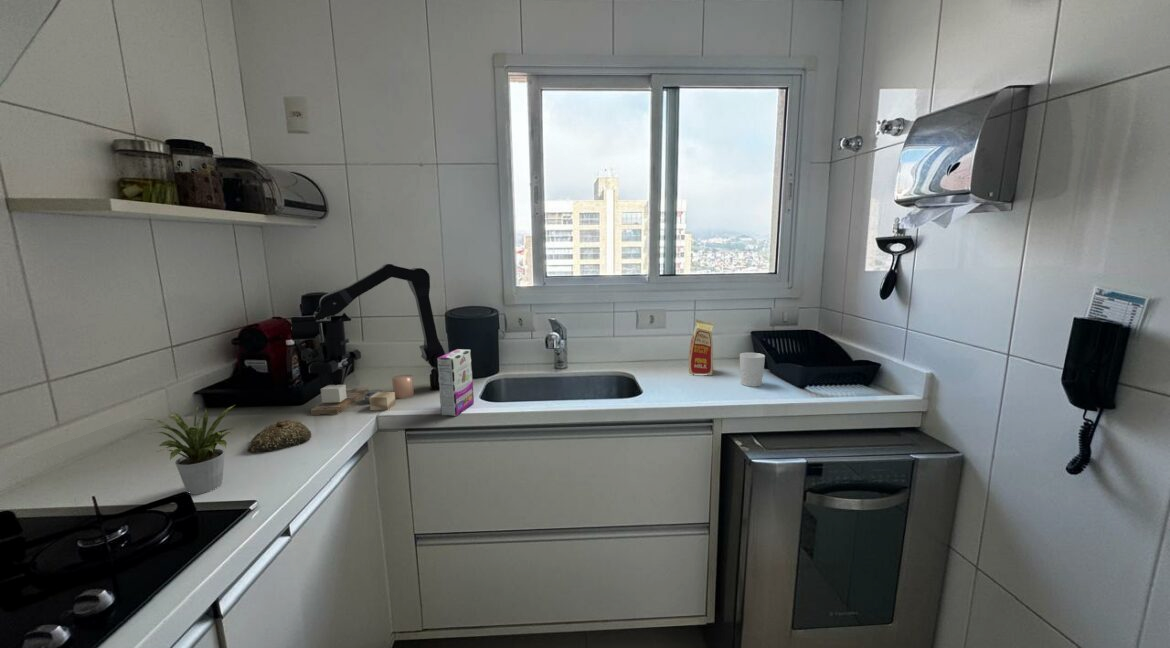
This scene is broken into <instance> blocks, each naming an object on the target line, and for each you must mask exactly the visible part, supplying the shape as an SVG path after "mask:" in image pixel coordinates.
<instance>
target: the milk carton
mask: <svg viewBox="0 0 1170 648" xmlns="http://www.w3.org/2000/svg"><path fill="white" fill-rule="evenodd" d="M715 325H716V322H710V321H709V322H708V321H705V320H701V319H698V318H695V327H694V329H693V333H692V336H691V340H690V345H689V346H690V347H689V352H688V373H689V374H707V375H712V376H713V374H714V343H713V333H712V332H713V328H714V326H715ZM712 373H713V374H712ZM689 374H688V375H689Z"/></svg>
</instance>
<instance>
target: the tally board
mask: <svg viewBox="0 0 1170 648" xmlns="http://www.w3.org/2000/svg"><path fill="white" fill-rule="evenodd" d="M366 391H369V388H368V387H353V388H352V387H351V388H350V387H349V388H348V387H346V395H347V398H346V399H344V400H343V401H341V402H329V403H322V402H321V403H320V404H319V405H316V406H315V407H313V408H311V409H310V412H311V416H319V415H320V414H333V415H339V414H340V413H341V411H342V410H343V411H344V410H346V409H348V406H349V405H350V406H352V405H353V404H354V403H356V402H357V401H359V400H360V399H362V398H363V397H365V395H364V393H365V392H366ZM362 396H363V397H362ZM359 398H360V399H359ZM358 399H359V400H358ZM356 400H357V401H356ZM355 401H356V402H355ZM352 403H353V404H352ZM350 406H349V407H350ZM345 408H346V409H345ZM343 411H342V412H343ZM339 412H340V413H339ZM338 413H339V414H338ZM320 416H321V415H320Z"/></svg>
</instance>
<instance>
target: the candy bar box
mask: <svg viewBox="0 0 1170 648" xmlns="http://www.w3.org/2000/svg"><path fill="white" fill-rule="evenodd" d="M437 365H438V378H439V390H438V391H439V401H440V414H441V415H440V416H445V417H446V416H447V417H457V416H459V415H460V414H461V412H462V411H463V410H464V411H466V410H467V409H468V408H470V407H471V406H472V405H473V404H474V403H475V398H474V397H475V396H474V384H473V383H474V381H473V369H472V368H473V367H472V351H471V349H466V348H465V349H464V348H462V349H461V348H460V349H459V348H457V349H455V350H451V351H450V352H448V353H445V355H443V356H441V357H439V358H437ZM465 409H466V410H465ZM464 411H463V412H464ZM463 412H462V413H463Z"/></svg>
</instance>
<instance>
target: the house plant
mask: <svg viewBox="0 0 1170 648" xmlns="http://www.w3.org/2000/svg"><path fill="white" fill-rule="evenodd" d="M200 405H201V403H199V404H198V406H197V407H196V409H195V413H194V422H193V424H194V425H193V426H191V427H189V426H188V425H187V424H186V422H185V421H184V420H183V418H182V417H181V415H180V414H178V413H176V412H172V411H170V413H171V414H169V413H167V415H168V416H169V417H170V418H171V419H172V420H173V421H175V423H176V424H177V426H179V427H180V428H181V430H182V431H183V432H184V433H182V432H181V431H180V430H178V429H176V428H174V427H171V426H170V425H168V424H167V423H166V422H164V421H161V420H158V419H153V418H144V419H143V418H141V419H138V421H139V420H140V421H141V420H147V421H154V422H157V423H159V424H162V425H164V426H161V429H162V428H164V429H167V430H170V431H171V432H173V433H174V434H175V435H176V436H178V437H179V438H180V439H182V441H183V442H185V444H187V445H184V444H182V442H180V441H179V440H178V439H176V437H174V436H173V435H172V434H169V433H167V432H163V431H154V432H153V434H156V433H158V434H164V435H165V436H167V437H169V438H170V439H172V440H169V439H168V440H165V441H163V442H161V443H160V444H159V445H158V447H164V446H165V449H166V448H167V449H168V448H175V449H173V450H172V449H168V451H170V458H169V461H171V460H172V458H174V457H175V456H177V455H180V457H179V458H178V459H176V460H175V464H174V465H175V466H176V469H177V471H178V474H179V475H180V478H181V482H182V484H183V486H184V488H185V491H186V492H190V493H191V494H195V495H201V493H202V494H205V492H206V493H209V492H211V491H210V490H212V491H214V490H216V489H218V488H219V487H218V486H220V485H221V484H223V479H224V478H223V477H224V464H225V463H224V462H225V450H224V449H221V448H216V447H217V445H221V446H223V447H224V448H225V449H227V441H226V440H225V439H223V438H224V437H225V436H227V435H228V434H231V433H232V431H229V430H232V429H234V427H232V428H231V427H230V428H225V429H222V430H219V431H215V430H216V428H217V426H218V425H219V424H220V423H221V421H222V420H223V419H224V418H225V417H227V413H228V412H229V411H230V410H231V409H232V408H234V407H235V406H236V404H234V405H232V406H229V407H227V409H225V410H224V411H222V412H221V413H220V414H219V415H218V417H217V418H216V419H215V420H214V421H213V423H212V425H211V426H210V427H209V428H208V430H207V426H208V420H209V413H208V410H207V409H206V408H204V409H205V410H204V414H203V415H202V417H199V419H198V421H197V413H198V410H199V406H200ZM172 414H173V415H172ZM201 418H202V423H201V427H200V428H199V425H200V422H201ZM158 428H160V426H158V427H157V426H156V427H152V428H151V430H152V429H158ZM147 430H149V431H150V428H149V429H147ZM214 431H215V432H214ZM226 431H227V432H226ZM224 432H225V433H224ZM222 433H223V434H222ZM150 434H152V432H150V433H149V435H150ZM166 446H167V447H166ZM162 451H163V449H160V450H157V451H156V452H162ZM182 452H183V453H182ZM221 486H222V485H221ZM221 486H220V487H221ZM217 487H218V488H217ZM215 488H216V489H215ZM213 489H214V490H213ZM208 491H209V492H208ZM191 494H190V495H191Z"/></svg>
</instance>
